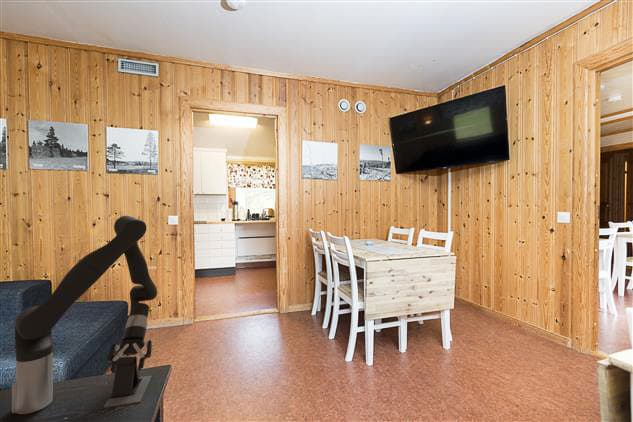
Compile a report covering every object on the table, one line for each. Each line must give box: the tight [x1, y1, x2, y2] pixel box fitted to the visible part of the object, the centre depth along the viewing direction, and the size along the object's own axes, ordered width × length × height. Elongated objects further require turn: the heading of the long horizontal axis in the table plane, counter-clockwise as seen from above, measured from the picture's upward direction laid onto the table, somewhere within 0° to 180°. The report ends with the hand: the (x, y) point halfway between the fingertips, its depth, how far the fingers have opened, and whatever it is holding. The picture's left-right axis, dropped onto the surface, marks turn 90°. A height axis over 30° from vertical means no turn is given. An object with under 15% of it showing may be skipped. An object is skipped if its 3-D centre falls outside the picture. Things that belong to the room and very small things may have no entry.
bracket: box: [103, 375, 152, 409], centre depth 111 cm, size 11×17×1 cm, turn 17°
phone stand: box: [111, 356, 141, 398], centre depth 112 cm, size 9×6×12 cm, turn 10°
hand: (126, 371), depth 112 cm, fingers open, 8 cm apart
